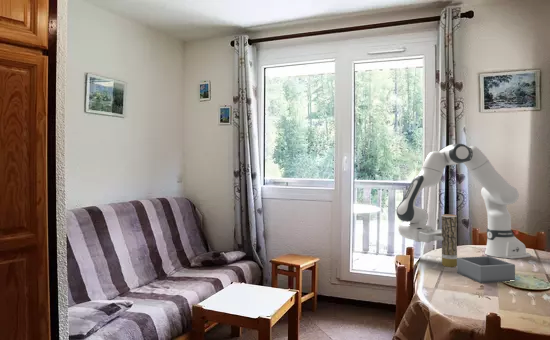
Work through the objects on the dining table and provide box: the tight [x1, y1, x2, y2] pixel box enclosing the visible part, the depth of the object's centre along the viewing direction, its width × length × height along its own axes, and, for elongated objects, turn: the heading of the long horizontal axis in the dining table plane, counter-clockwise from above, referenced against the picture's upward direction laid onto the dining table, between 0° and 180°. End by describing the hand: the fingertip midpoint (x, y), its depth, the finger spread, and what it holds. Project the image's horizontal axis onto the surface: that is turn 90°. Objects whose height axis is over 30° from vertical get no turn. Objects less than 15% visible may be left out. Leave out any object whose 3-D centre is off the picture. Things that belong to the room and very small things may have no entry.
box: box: [456, 255, 516, 284], centre depth 169 cm, size 16×16×7 cm
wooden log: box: [441, 213, 458, 268], centre depth 188 cm, size 7×7×25 cm
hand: (449, 237), depth 188 cm, fingers open, 8 cm apart
